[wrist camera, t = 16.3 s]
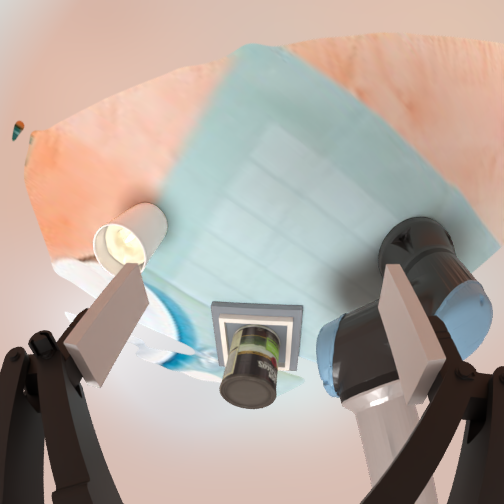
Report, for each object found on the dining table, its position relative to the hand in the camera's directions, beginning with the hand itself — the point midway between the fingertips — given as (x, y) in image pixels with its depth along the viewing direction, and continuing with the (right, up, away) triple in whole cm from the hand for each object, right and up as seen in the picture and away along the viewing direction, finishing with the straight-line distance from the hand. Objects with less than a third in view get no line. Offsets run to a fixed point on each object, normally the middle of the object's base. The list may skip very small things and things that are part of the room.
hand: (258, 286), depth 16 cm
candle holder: (-20, +7, +40) cm, 45 cm away
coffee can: (+1, -17, +48) cm, 51 cm away
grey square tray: (+1, -16, +50) cm, 52 cm away
